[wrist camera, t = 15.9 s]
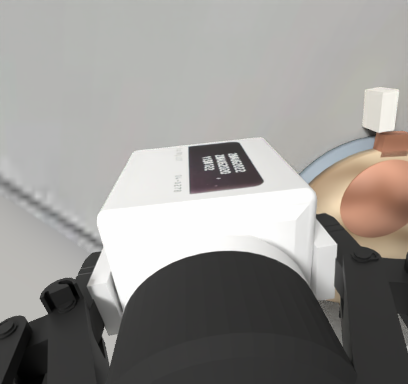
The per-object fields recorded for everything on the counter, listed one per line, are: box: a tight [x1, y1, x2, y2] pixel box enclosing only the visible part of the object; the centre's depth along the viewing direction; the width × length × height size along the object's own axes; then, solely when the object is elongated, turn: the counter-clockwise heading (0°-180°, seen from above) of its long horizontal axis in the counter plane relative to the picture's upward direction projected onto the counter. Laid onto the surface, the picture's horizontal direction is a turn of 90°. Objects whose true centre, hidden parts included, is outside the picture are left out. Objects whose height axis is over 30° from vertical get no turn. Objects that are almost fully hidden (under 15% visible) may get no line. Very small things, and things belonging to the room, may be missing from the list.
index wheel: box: [308, 131, 408, 305], centre depth 33 cm, size 25×24×8 cm
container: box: [97, 137, 357, 384], centre depth 12 cm, size 8×8×13 cm
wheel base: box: [299, 87, 399, 184], centre depth 35 cm, size 29×24×3 cm
